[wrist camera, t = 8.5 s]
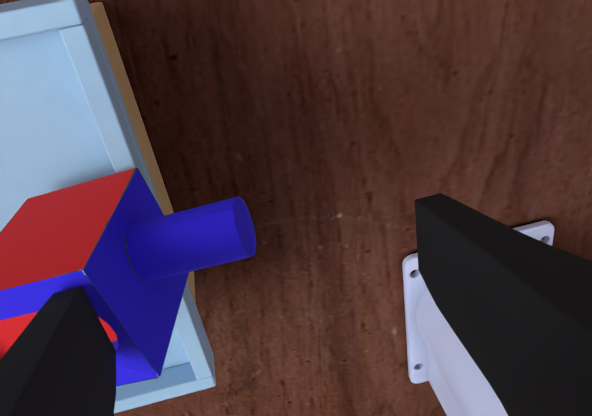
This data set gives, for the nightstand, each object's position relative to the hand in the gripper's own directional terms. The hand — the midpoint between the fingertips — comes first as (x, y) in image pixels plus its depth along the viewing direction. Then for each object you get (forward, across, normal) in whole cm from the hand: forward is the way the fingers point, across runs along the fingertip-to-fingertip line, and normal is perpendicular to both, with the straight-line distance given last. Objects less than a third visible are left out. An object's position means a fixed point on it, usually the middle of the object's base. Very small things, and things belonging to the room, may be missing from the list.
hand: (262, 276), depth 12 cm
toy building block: (+4, +7, +1) cm, 8 cm away
